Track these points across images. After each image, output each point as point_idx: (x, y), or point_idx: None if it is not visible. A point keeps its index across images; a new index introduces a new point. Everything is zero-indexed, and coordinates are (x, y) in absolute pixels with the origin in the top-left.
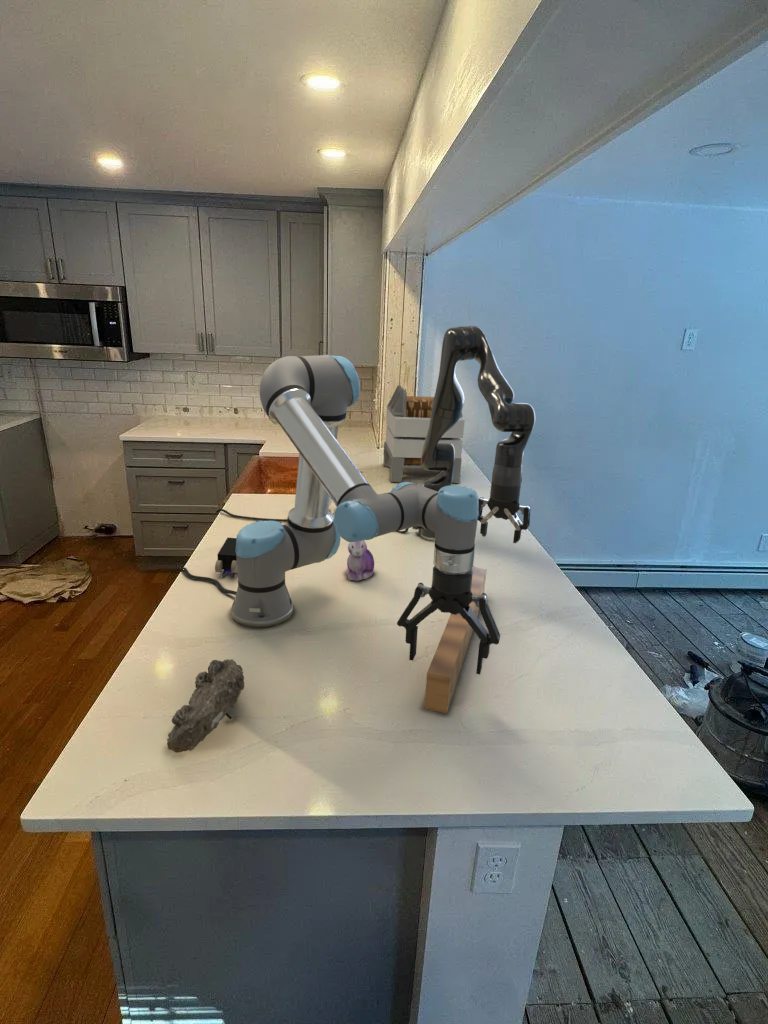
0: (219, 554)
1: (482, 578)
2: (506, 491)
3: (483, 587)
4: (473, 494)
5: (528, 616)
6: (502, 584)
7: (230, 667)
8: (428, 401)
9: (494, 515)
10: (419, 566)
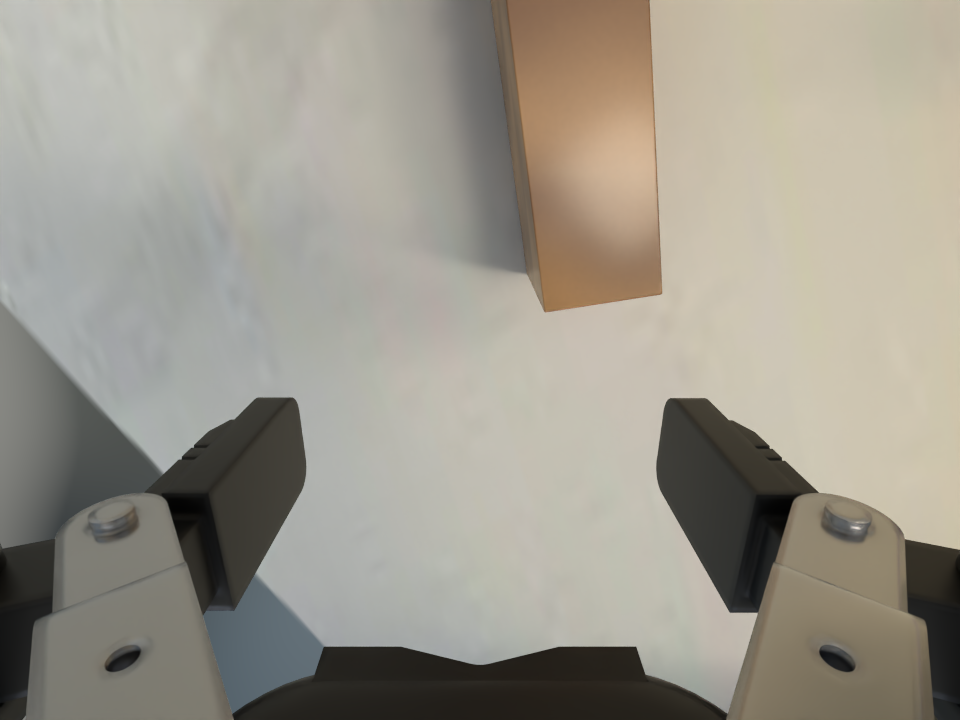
0: None
1: (531, 139)
2: None
3: (525, 215)
4: None
5: (267, 189)
6: (480, 440)
7: None
8: None
9: (687, 699)
10: (908, 417)
